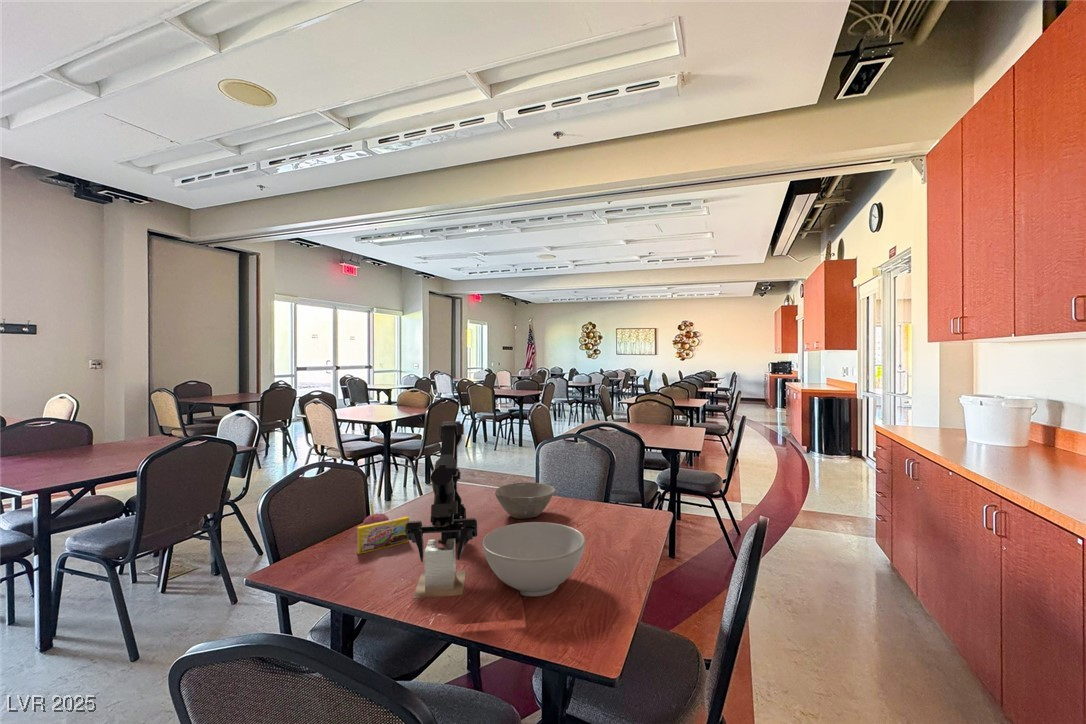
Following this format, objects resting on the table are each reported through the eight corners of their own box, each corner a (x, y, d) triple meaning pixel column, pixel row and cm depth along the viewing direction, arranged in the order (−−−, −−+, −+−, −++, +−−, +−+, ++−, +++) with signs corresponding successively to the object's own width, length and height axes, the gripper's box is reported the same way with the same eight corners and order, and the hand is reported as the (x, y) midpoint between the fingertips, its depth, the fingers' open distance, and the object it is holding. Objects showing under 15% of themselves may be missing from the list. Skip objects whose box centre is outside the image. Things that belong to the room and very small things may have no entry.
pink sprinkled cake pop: (372, 541, 157) (371, 505, 157) (357, 536, 162) (357, 500, 162) (394, 533, 163) (393, 499, 164) (379, 529, 169) (379, 495, 169)
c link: (429, 577, 126) (428, 539, 126) (455, 575, 127) (455, 538, 127) (424, 591, 118) (424, 551, 118) (453, 589, 119) (452, 549, 119)
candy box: (359, 555, 145) (358, 528, 145) (356, 553, 147) (356, 526, 147) (409, 542, 155) (409, 517, 156) (407, 540, 157) (406, 515, 157)
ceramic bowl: (487, 512, 186) (487, 486, 186) (540, 504, 196) (540, 479, 196) (507, 529, 166) (506, 500, 166) (565, 519, 176) (565, 492, 176)
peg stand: (421, 577, 129) (421, 554, 129) (465, 574, 130) (465, 552, 130) (412, 603, 115) (412, 577, 115) (462, 599, 116) (462, 574, 116)
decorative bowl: (510, 558, 141) (509, 517, 141) (597, 571, 131) (597, 527, 131) (462, 600, 116) (462, 551, 116) (567, 620, 106) (566, 566, 106)
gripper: (405, 491, 126) (398, 548, 115) (476, 488, 128) (475, 544, 117) (411, 512, 134) (404, 567, 123) (477, 509, 136) (477, 563, 125)
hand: (440, 560), depth 122 cm, fingers open, 9 cm apart
